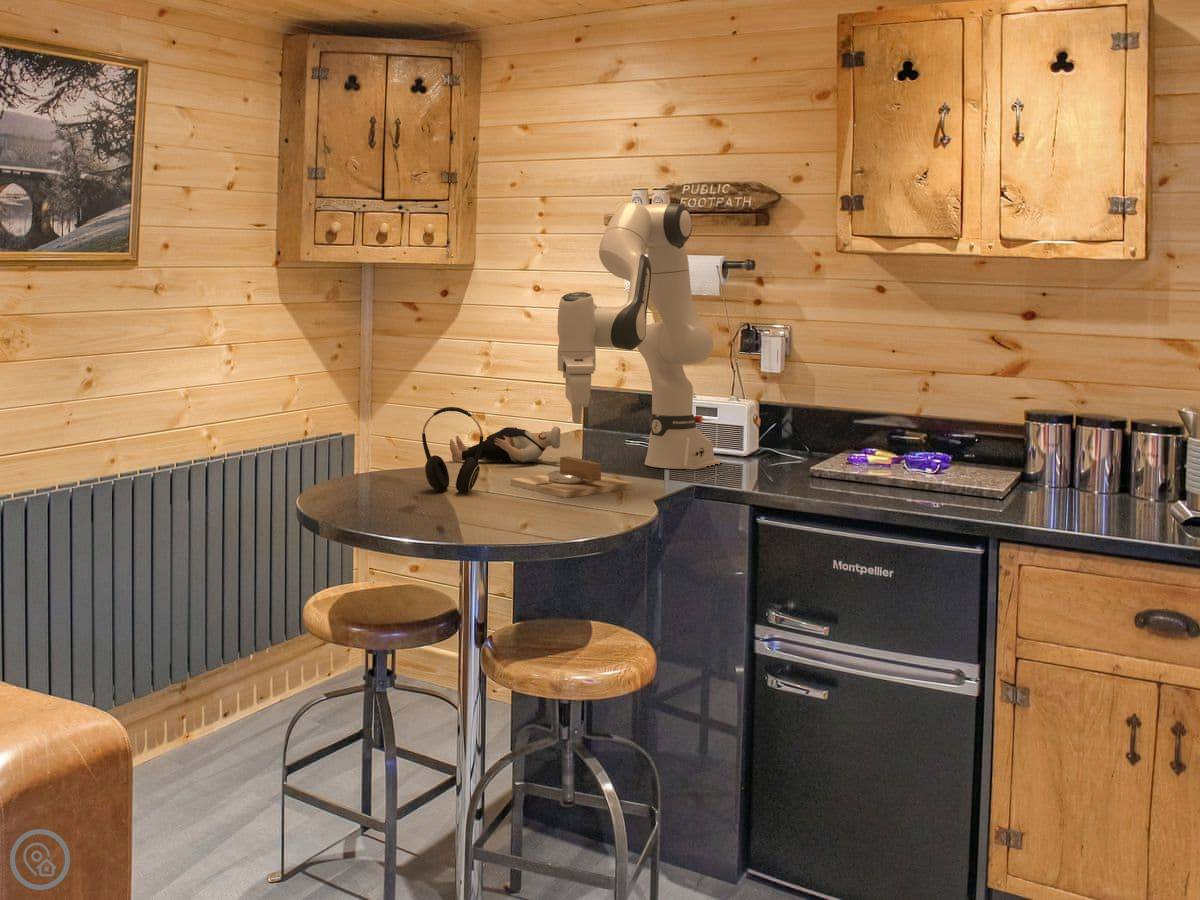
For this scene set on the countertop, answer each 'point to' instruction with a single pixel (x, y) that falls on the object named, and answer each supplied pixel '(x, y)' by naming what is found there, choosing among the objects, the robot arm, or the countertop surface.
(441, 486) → the headphones
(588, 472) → the dial
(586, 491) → the dial plate
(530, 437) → the figurine
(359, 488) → the countertop surface
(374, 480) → the countertop surface
